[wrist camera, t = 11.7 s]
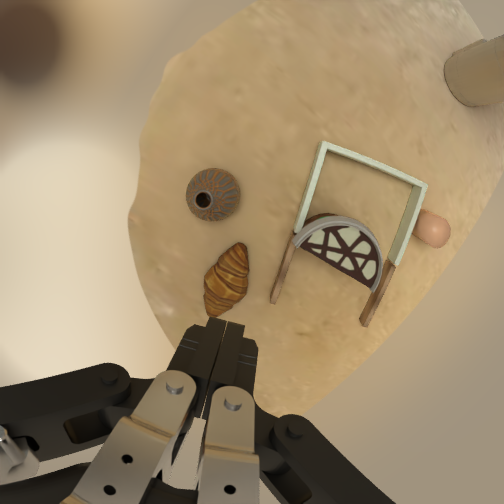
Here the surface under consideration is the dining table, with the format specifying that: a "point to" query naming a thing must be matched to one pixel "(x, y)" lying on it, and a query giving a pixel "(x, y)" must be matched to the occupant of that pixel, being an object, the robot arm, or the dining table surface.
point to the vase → (212, 194)
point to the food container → (343, 246)
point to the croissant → (226, 281)
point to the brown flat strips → (372, 301)
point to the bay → (418, 185)
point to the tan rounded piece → (431, 229)
